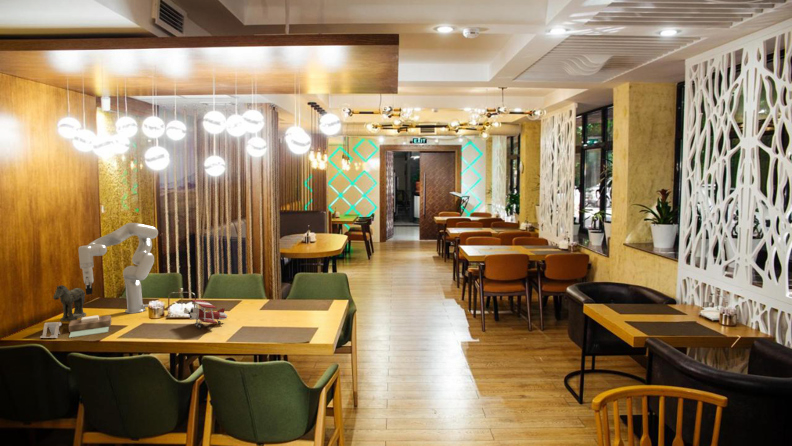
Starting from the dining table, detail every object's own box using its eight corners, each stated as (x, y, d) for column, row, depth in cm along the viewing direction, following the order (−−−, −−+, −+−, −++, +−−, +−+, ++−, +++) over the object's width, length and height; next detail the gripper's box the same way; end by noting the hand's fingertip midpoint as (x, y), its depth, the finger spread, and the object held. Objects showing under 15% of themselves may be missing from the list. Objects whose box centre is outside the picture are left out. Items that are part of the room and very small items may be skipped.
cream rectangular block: (99, 318, 331) (98, 315, 331) (98, 320, 325) (98, 317, 325) (82, 320, 327) (82, 317, 327) (81, 322, 321) (81, 319, 321)
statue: (60, 325, 331) (57, 287, 329) (46, 325, 333) (42, 286, 331) (90, 315, 356) (87, 278, 353) (77, 314, 358) (73, 278, 355)
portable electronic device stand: (40, 339, 303) (39, 325, 303) (48, 335, 311) (47, 321, 310) (55, 339, 304) (54, 325, 303) (63, 334, 311) (62, 321, 311)
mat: (108, 327, 324) (108, 326, 324) (107, 332, 314) (107, 331, 314) (71, 332, 315) (70, 331, 315) (68, 337, 305) (68, 337, 305)
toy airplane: (231, 334, 315) (236, 309, 316) (192, 331, 302) (197, 305, 303) (217, 325, 337) (221, 302, 338) (180, 322, 323) (185, 298, 325)
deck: (111, 321, 338) (110, 315, 337) (110, 326, 325) (110, 320, 325) (71, 326, 328) (70, 320, 327) (69, 332, 315) (68, 326, 315)
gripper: (92, 266, 326) (95, 295, 328) (94, 262, 341) (96, 290, 343) (78, 267, 323) (81, 297, 324) (81, 264, 338) (83, 291, 339)
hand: (89, 293), depth 334 cm, fingers open, 3 cm apart
